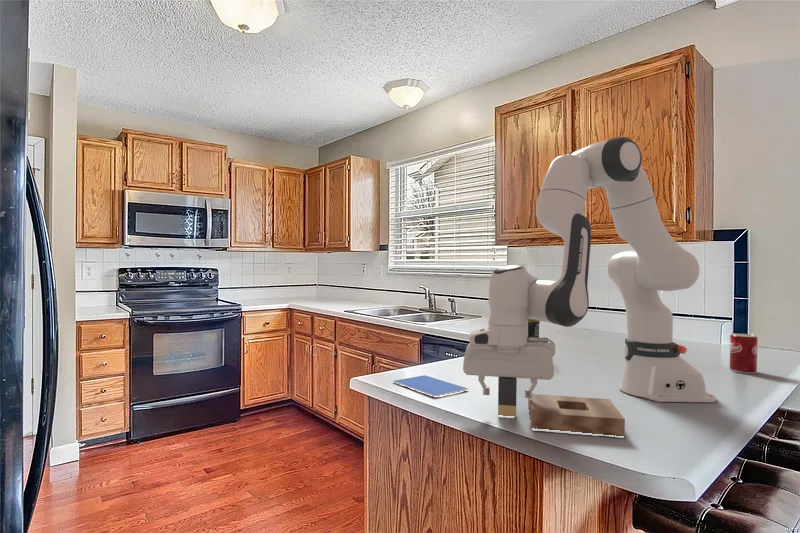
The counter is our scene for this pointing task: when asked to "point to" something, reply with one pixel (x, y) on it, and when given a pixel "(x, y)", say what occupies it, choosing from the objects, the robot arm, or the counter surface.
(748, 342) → the soda can
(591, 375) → the counter surface
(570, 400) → the socket
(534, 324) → the coffee jar
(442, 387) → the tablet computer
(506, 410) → the plug
